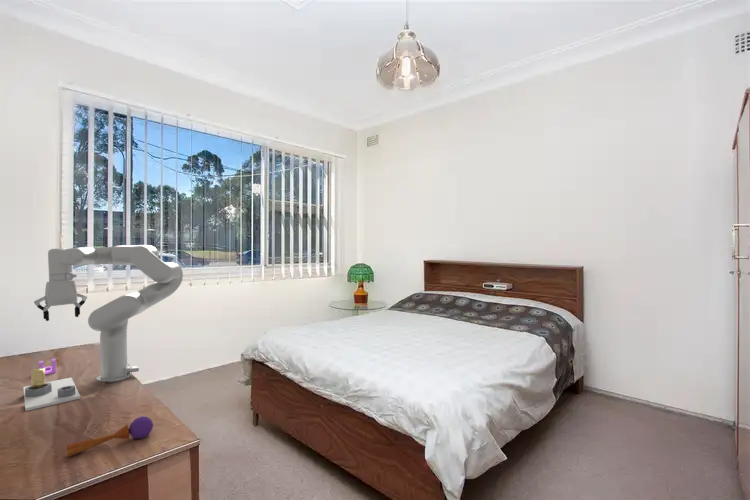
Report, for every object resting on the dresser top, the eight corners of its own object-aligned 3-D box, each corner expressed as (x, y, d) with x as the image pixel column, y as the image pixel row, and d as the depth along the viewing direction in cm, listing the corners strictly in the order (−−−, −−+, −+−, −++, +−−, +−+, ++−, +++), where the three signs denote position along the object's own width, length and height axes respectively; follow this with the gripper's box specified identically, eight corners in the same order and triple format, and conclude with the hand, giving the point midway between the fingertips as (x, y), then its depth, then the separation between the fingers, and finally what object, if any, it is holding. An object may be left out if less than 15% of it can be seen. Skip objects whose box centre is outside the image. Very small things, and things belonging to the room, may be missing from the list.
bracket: (55, 375, 167) (55, 359, 167) (39, 378, 164) (38, 362, 164) (56, 368, 177) (55, 353, 177) (40, 370, 174) (40, 355, 174)
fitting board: (71, 379, 161) (71, 371, 161) (80, 398, 141) (79, 389, 141) (23, 389, 150) (23, 380, 150) (25, 411, 130) (25, 401, 130)
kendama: (67, 437, 104) (150, 411, 116) (69, 459, 104) (153, 431, 116) (65, 442, 100) (152, 415, 111) (67, 465, 99) (155, 435, 111)
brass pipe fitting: (47, 390, 146) (46, 367, 146) (42, 394, 143) (42, 370, 143) (34, 392, 145) (33, 368, 145) (29, 395, 141) (28, 371, 141)
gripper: (84, 275, 167) (85, 314, 167) (31, 279, 154) (33, 321, 154) (88, 276, 162) (89, 316, 162) (34, 280, 149) (36, 323, 149)
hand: (62, 318), depth 158 cm, fingers open, 9 cm apart
